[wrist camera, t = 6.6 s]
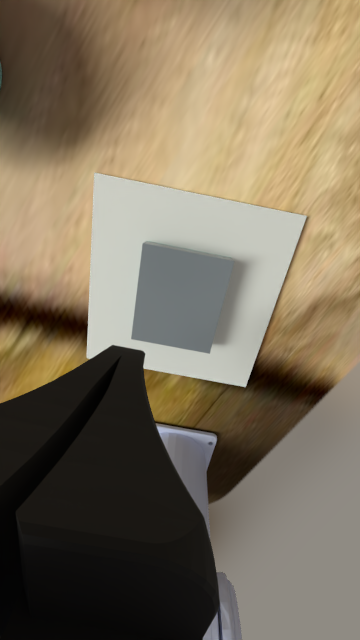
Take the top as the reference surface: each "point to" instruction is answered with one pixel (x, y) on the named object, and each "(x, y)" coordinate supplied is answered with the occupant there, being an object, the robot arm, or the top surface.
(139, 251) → the mat
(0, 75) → the cupcake
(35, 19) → the top surface
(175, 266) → the tile
